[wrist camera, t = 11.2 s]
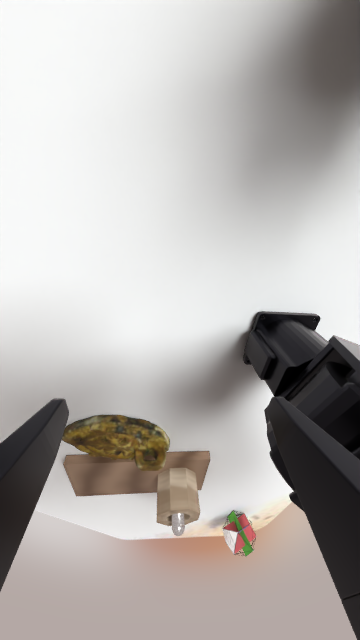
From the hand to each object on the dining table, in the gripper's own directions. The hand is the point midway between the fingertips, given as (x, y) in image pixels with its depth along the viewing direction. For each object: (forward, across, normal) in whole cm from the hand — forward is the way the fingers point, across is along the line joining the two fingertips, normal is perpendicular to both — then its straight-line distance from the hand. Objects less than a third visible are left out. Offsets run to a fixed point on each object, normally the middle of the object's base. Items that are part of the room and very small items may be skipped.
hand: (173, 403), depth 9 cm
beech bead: (+10, -3, +32) cm, 33 cm away
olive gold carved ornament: (+12, +6, +22) cm, 25 cm away
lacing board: (+11, +3, +32) cm, 34 cm away
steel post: (+10, -3, +32) cm, 33 cm away
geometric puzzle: (+11, -18, +55) cm, 59 cm away
